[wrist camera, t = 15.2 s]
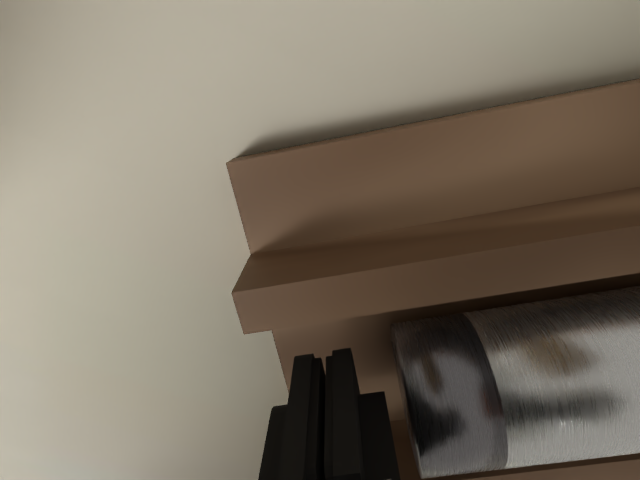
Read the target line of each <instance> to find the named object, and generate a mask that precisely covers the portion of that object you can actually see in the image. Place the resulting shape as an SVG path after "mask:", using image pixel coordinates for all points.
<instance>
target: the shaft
mask: <svg viewBox="0 0 640 480" xmlns="http://www.w3.org/2000/svg"><path fill="white" fill-rule="evenodd" d="M390 330H391V340H392V347H393V354H394V360H395V366H396V372H397V377H398V383H399V388H400V393H401V399H402V404H403V409H404V414H405V418H406V423H407V428H408V432H409V437H410V441H411V446H412V450H413V454H414V458H415V462H416V465H417V469H418V472H419V475H420V478H421V479H424V478H433V477H441V476H450V475H458V474H467V473H475V472H484V471H492V470H500V469H509V468H517V467H526V466H534V465H543V464H551V463H560V462H568V461H577V460H585V459H594V458H602V457H611V456H619V455H628V454H636V453H640V286H636V287H629V288H623V289H616V290H610V291H603V292H597V293H590V294H583V295H577V296H570V297H564V298H557V299H551V300H544V301H538V302H531V303H525V304H518V305H511V306H505V307H498V308H492V309H485V310H479V311H472V312H466V313H459V314H453V315H446V316H439V317H433V318H426V319H420V320H413V321H407V322H400V323H394V324H391V325H390Z"/></svg>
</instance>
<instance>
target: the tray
mask: <svg viewBox="0 0 640 480" xmlns="http://www.w3.org/2000/svg"><path fill="white" fill-rule="evenodd" d="M226 165H227V169H228V172H229V176H230V180H231V183H232V187H233V191H234V194H235V198H236V202H237V205H238V209H239V213H240V216H241V220H242V224H243V227H244V231H245V235H246V238H247V242H248V246H249V249H250V253H251V255H250V257H249V259H248V261H247V263H246V265H245V267H244V269H243V271H242V273H241V275H240V277H239V279H238V281H237V283H236V285H235V287H234V289H233V291H232V296H233V300H234V303H235V306H236V310H237V313H238V316H239V320H240V323H241V326H242V329H243V333H244V334H250V333H256V332H262V331H269V330H272V333H273V337H274V341H275V344H276V348H277V352H278V355H279V359H280V363H281V366H282V370H283V374H284V377H285V381H286V384H287V388H288V392H289V391H290V384H291V376H292V369H293V362H294V357H295V356H299V355H305V354H312V353H313V354H314V356H315V358H319V357H321V359H322V362H323V367H324V371H325V375H326V356H332V351H333V350H338V349H345V348H351V351H352V355H353V360H354V365H355V370H356V375H357V379H358V384H359V389H360V394H366V393H373V392H380V391H384V392H385V397H386V403H387V408H388V414H389V419H390V424H391V430H392V435H393V441H394V446H395V452H396V457H397V462H398V468H399V473H400V479H401V480H640V453H636V454H628V455H619V456H611V457H602V458H594V459H585V460H577V461H568V462H560V463H551V464H543V465H534V466H526V467H517V468H509V469H500V470H492V471H484V472H475V473H467V474H458V475H450V476H441V477H433V478H424V479H421V478H420V475H419V472H418V469H417V465H416V462H415V458H414V454H413V450H412V446H411V441H410V437H409V432H408V428H407V423H406V418H405V414H404V409H403V404H402V399H401V393H400V388H399V383H398V377H397V372H396V366H395V360H394V354H393V347H392V340H391V330H390V325H391V324H394V323H400V322H407V321H413V320H420V319H426V318H433V317H439V316H446V315H453V314H459V313H466V312H472V311H479V310H485V309H492V308H498V307H505V306H511V305H518V304H525V303H531V302H538V301H544V300H551V299H557V298H564V297H570V296H577V295H583V294H590V293H597V292H603V291H610V290H616V289H623V288H629V287H636V286H640V79H635V80H630V81H625V82H620V83H615V84H609V85H604V86H599V87H594V88H589V89H584V90H579V91H574V92H569V93H564V94H558V95H553V96H548V97H543V98H538V99H533V100H528V101H523V102H518V103H513V104H508V105H502V106H497V107H492V108H487V109H482V110H477V111H472V112H467V113H462V114H457V115H451V116H446V117H441V118H436V119H431V120H426V121H421V122H416V123H411V124H406V125H400V126H395V127H390V128H385V129H380V130H375V131H370V132H365V133H360V134H355V135H350V136H344V137H339V138H334V139H329V140H324V141H319V142H314V143H309V144H304V145H299V146H293V147H288V148H283V149H278V150H273V151H268V152H263V153H258V154H253V155H248V156H242V157H237V158H234V159H232V160H230V161H229V162H227V163H226Z"/></svg>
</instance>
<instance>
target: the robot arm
mask: <svg viewBox="0 0 640 480" xmlns="http://www.w3.org/2000/svg"><path fill="white" fill-rule="evenodd" d="M258 480H401V479H400V473H399V468H398V462H397V457H396V452H395V446H394V441H393V435H392V430H391V424H390V419H389V414H388V408H387V403H386V397H385V392H384V391H380V392H373V393H366V394H360V389H359V384H358V379H357V375H356V370H355V365H354V360H353V355H352V351H351V348H345V349H338V350H333V351H332V356H326V375H325V371H324V367H323V362H322V359H321V357H319V358H315V356H314V354H313V353H312V354H305V355H299V356H295V357H294V362H293V369H292V376H291V384H290V391H289V398H288V405H281V406H274V407H273V408H272V411H271V415H270V420H269V425H268V431H267V436H266V441H265V447H264V452H263V457H262V463H261V468H260V473H259V479H258Z"/></svg>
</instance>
